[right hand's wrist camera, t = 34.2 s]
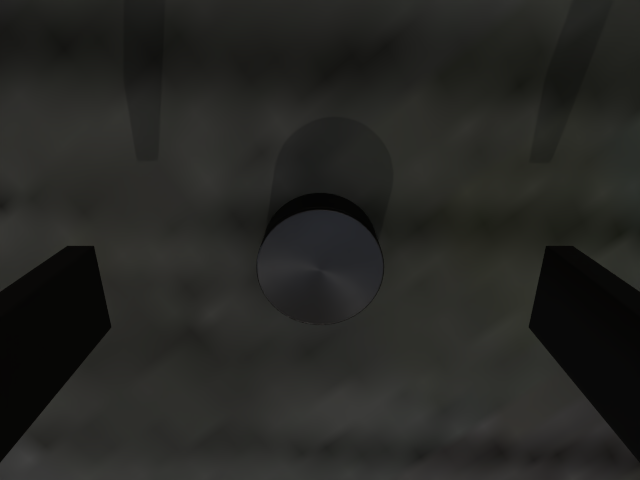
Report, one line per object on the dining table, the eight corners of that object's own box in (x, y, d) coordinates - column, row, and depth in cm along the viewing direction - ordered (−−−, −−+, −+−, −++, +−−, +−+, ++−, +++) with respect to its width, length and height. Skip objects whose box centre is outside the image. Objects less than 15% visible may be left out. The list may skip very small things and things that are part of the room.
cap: (343, 312, 17) (346, 342, 15) (246, 269, 16) (236, 295, 14) (397, 223, 15) (407, 244, 13) (293, 172, 15) (289, 186, 13)
